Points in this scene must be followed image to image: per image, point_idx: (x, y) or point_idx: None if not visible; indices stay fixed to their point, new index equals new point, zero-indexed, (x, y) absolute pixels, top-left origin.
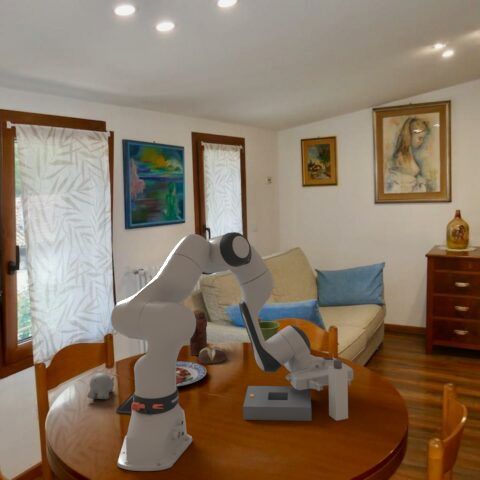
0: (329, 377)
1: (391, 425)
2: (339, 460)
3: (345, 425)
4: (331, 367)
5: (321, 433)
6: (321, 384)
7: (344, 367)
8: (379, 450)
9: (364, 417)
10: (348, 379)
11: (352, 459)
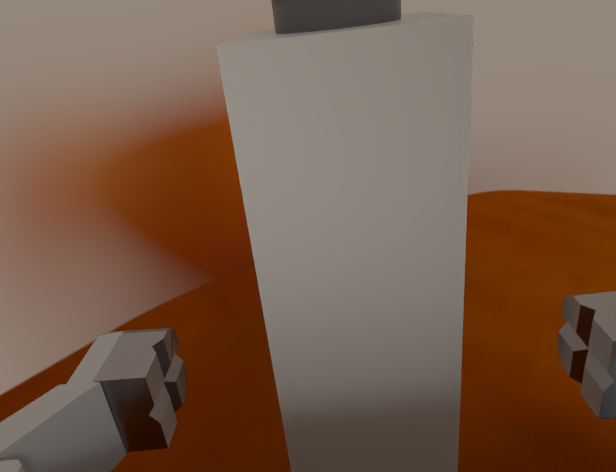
0: (458, 196)
1: None
2: (525, 224)
3: None
4: (431, 17)
5: None
6: (588, 294)
7: (252, 33)
8: None
9: (198, 450)
10: (117, 333)
11: (475, 223)
